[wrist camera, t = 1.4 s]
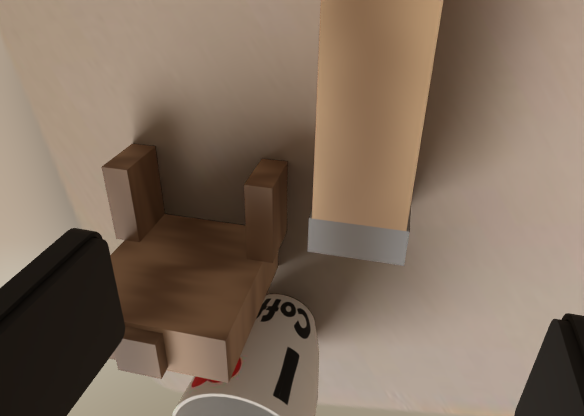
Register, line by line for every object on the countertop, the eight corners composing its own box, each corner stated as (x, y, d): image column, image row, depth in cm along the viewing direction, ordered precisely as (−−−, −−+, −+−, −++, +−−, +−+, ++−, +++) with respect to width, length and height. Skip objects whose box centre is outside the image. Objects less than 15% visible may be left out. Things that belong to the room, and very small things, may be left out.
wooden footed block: (287, 161, 29) (225, 270, 20) (286, 268, 33) (234, 398, 24) (132, 143, 31) (11, 235, 22) (149, 246, 35) (53, 359, 26)
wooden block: (450, -67, 22) (458, -63, 17) (407, 205, 29) (404, 265, 24) (342, -69, 23) (319, -66, 18) (327, 195, 30) (307, 251, 25)
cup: (341, 288, 33) (312, 414, 25) (331, 370, 37) (304, 501, 29) (227, 268, 34) (164, 379, 26) (230, 349, 39) (176, 467, 30)
